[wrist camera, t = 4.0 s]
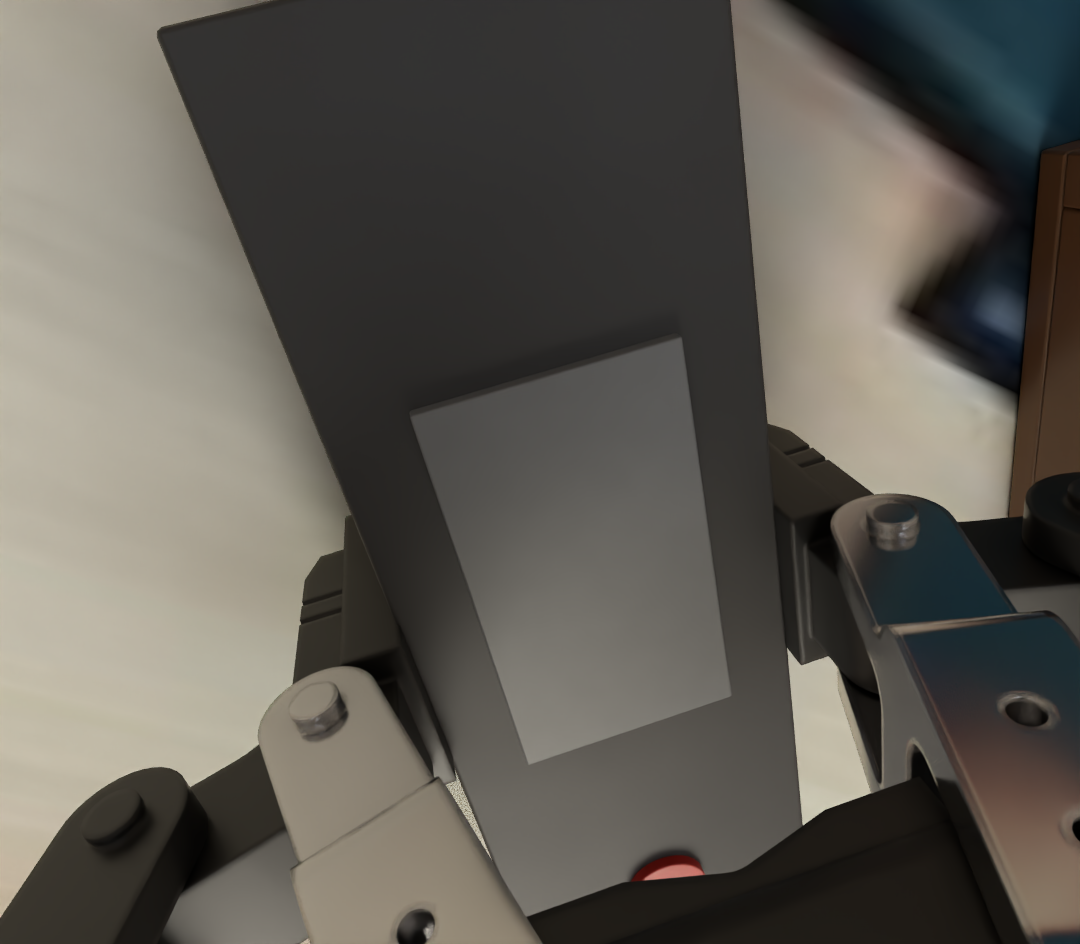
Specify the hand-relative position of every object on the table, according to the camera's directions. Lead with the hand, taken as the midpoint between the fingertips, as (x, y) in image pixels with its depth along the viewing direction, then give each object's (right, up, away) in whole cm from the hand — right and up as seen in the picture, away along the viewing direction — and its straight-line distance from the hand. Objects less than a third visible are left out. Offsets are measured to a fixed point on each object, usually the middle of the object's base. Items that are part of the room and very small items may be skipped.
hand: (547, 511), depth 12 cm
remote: (0, 0, 0) cm, 0 cm away
